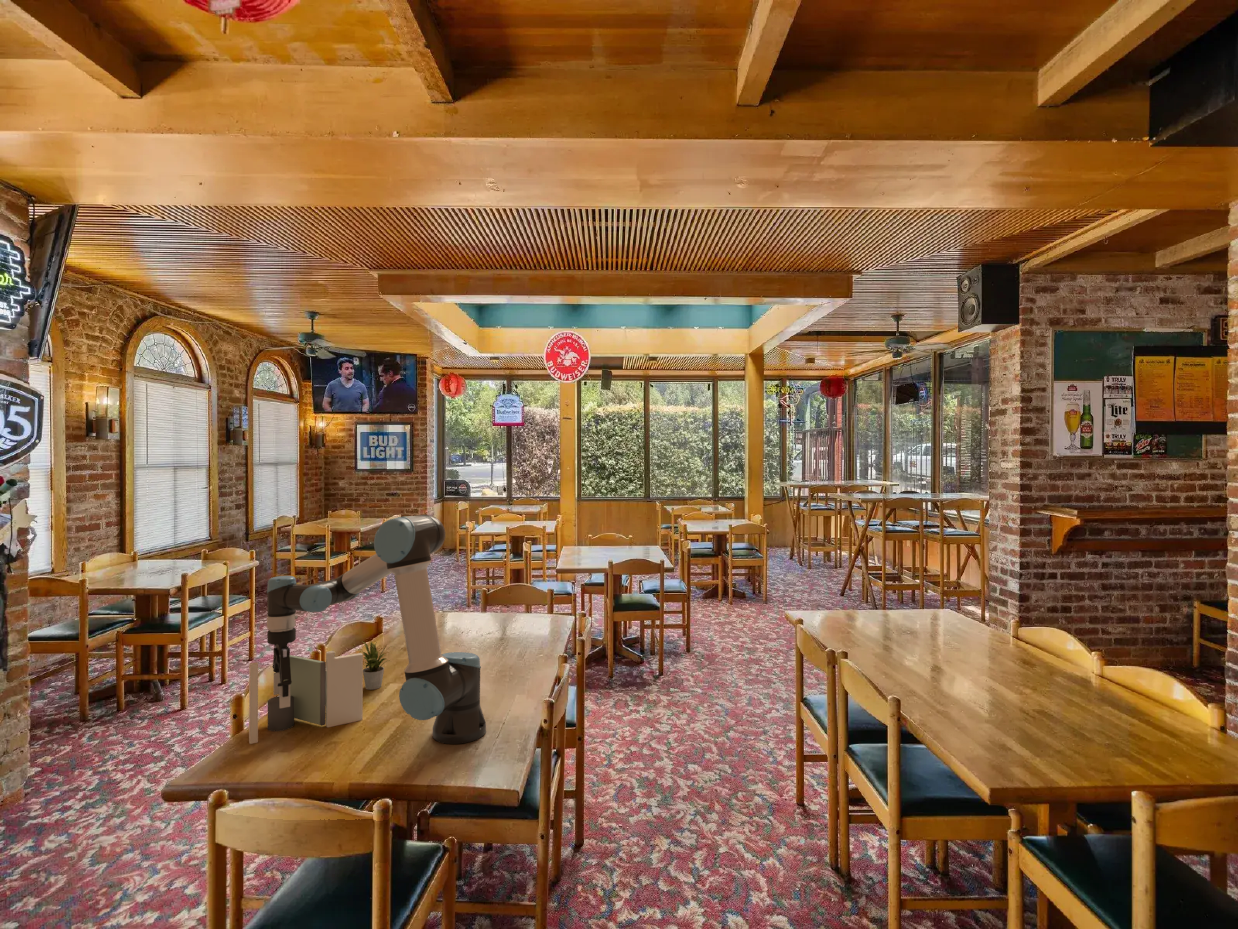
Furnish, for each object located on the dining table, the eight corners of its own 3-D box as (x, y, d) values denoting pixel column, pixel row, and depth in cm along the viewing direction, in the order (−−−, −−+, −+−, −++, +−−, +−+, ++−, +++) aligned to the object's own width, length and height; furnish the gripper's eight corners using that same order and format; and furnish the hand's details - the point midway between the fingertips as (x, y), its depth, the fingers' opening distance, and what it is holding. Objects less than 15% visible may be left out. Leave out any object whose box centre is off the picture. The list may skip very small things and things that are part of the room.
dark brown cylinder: (295, 728, 189) (295, 701, 189) (268, 733, 186) (268, 705, 186) (293, 719, 195) (293, 693, 195) (267, 724, 192) (267, 698, 192)
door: (322, 726, 189) (322, 663, 189) (283, 715, 197) (283, 655, 197) (326, 724, 190) (326, 662, 190) (287, 714, 198) (288, 654, 198)
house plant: (339, 688, 223) (339, 641, 223) (374, 677, 234) (374, 633, 234) (364, 697, 215) (364, 648, 215) (399, 685, 226) (399, 639, 226)
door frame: (362, 720, 195) (362, 648, 195) (249, 744, 178) (249, 665, 178) (361, 717, 197) (361, 646, 197) (249, 741, 180) (249, 663, 180)
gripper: (302, 635, 182) (302, 710, 182) (289, 619, 203) (289, 686, 203) (272, 639, 178) (272, 716, 178) (262, 622, 198) (262, 691, 198)
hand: (281, 700), depth 190 cm, fingers open, 13 cm apart
